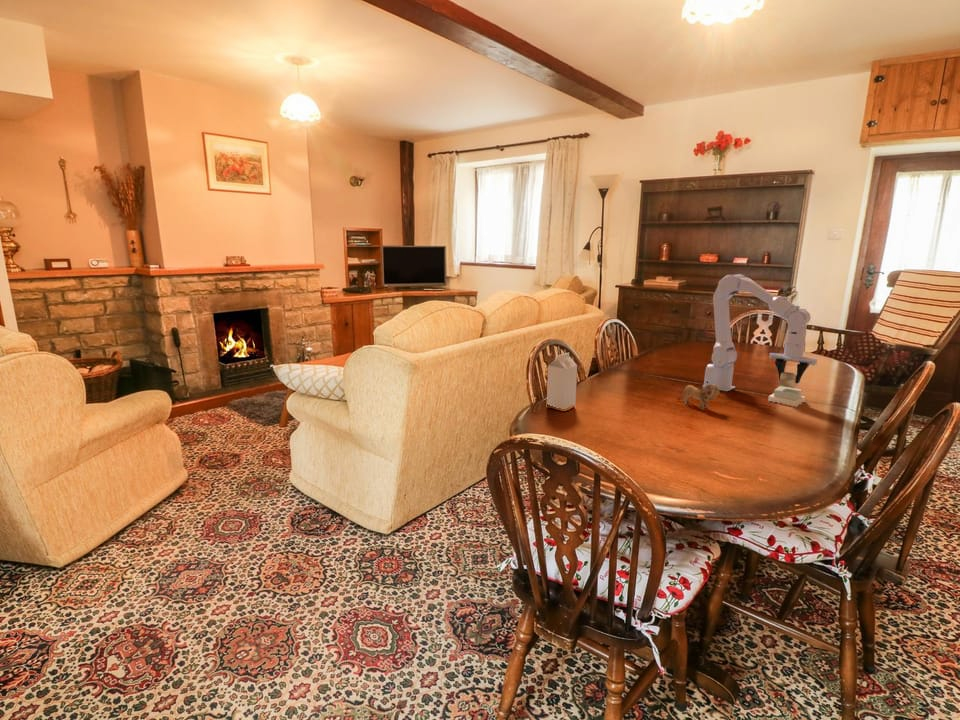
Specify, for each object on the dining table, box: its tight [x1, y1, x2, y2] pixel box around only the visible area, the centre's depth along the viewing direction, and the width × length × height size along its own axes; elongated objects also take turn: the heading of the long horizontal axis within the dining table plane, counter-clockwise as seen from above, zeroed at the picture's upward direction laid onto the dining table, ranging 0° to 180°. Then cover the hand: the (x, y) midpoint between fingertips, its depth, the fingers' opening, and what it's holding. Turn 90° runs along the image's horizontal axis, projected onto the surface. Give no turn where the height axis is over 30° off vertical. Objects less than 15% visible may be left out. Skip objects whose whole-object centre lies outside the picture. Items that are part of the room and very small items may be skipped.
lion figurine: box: [677, 384, 721, 411], centre depth 171 cm, size 15×5×9 cm, turn 36°
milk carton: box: [546, 352, 578, 409], centre depth 167 cm, size 7×7×19 cm
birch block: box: [778, 370, 799, 389], centre depth 176 cm, size 4×4×4 cm
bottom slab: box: [767, 392, 806, 408], centre depth 178 cm, size 9×9×2 cm
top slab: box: [773, 386, 803, 401], centre depth 177 cm, size 7×7×2 cm
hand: (789, 381), depth 176 cm, fingers closed on birch block, 4 cm apart
